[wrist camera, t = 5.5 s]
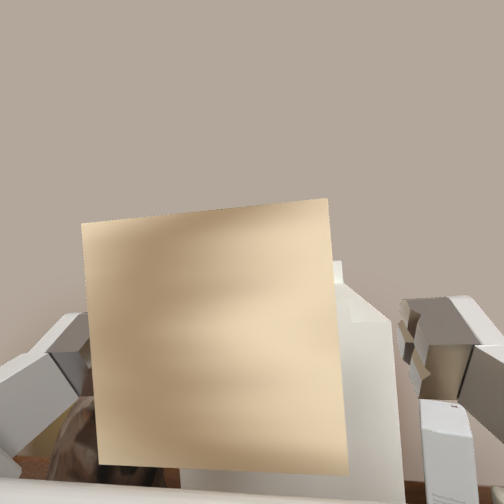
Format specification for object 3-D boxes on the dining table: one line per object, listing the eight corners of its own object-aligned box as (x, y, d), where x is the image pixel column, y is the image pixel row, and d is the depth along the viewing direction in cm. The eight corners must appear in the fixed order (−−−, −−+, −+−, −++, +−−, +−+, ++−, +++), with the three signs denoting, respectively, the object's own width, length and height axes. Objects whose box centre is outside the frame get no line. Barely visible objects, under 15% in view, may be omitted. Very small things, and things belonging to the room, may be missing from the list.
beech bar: (99, 464, 5) (81, 223, 5) (265, 289, 27) (261, 245, 27) (349, 476, 4) (327, 198, 4) (311, 287, 26) (307, 241, 26)
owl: (143, 506, 36) (131, 340, 36) (220, 565, 29) (204, 355, 29) (14, 609, 26) (-2, 379, 26) (78, 744, 18) (55, 419, 19)
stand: (210, 879, 14) (165, 287, 14) (260, 543, 30) (238, 267, 31) (441, 946, 12) (387, 274, 13) (363, 552, 29) (340, 260, 29)
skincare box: (427, 504, 33) (418, 397, 33) (474, 518, 31) (465, 403, 31) (429, 554, 28) (419, 426, 28) (486, 575, 26) (475, 436, 26)
